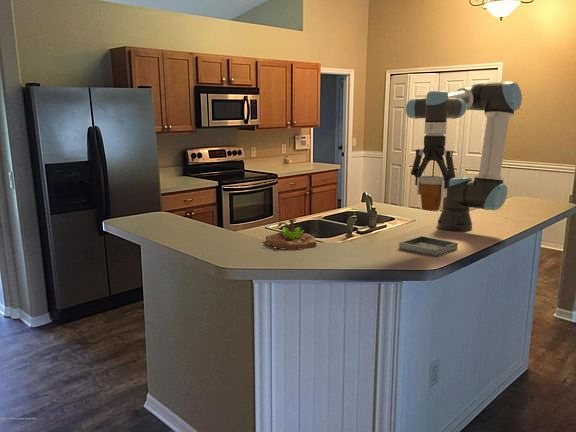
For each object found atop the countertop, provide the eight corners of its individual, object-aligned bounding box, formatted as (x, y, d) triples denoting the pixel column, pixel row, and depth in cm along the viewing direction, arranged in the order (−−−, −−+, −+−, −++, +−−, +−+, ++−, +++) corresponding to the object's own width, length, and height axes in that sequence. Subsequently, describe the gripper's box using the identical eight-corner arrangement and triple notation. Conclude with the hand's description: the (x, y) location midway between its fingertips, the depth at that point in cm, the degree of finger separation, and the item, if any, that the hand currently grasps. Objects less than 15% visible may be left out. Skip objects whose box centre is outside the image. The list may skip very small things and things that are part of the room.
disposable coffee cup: (443, 207, 183) (445, 176, 181) (444, 212, 174) (446, 179, 172) (417, 206, 186) (419, 175, 184) (417, 210, 177) (418, 178, 175)
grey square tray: (421, 241, 194) (421, 235, 194) (457, 249, 183) (457, 242, 182) (399, 248, 184) (399, 242, 183) (436, 257, 172) (436, 250, 172)
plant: (274, 252, 180) (274, 223, 178) (261, 240, 198) (260, 213, 196) (324, 248, 186) (324, 219, 184) (306, 236, 205) (306, 210, 202)
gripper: (403, 134, 180) (400, 193, 185) (458, 135, 164) (453, 200, 169) (414, 134, 185) (411, 191, 190) (468, 135, 169) (464, 198, 174)
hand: (431, 195), depth 179 cm, fingers closed on disposable coffee cup, 9 cm apart
